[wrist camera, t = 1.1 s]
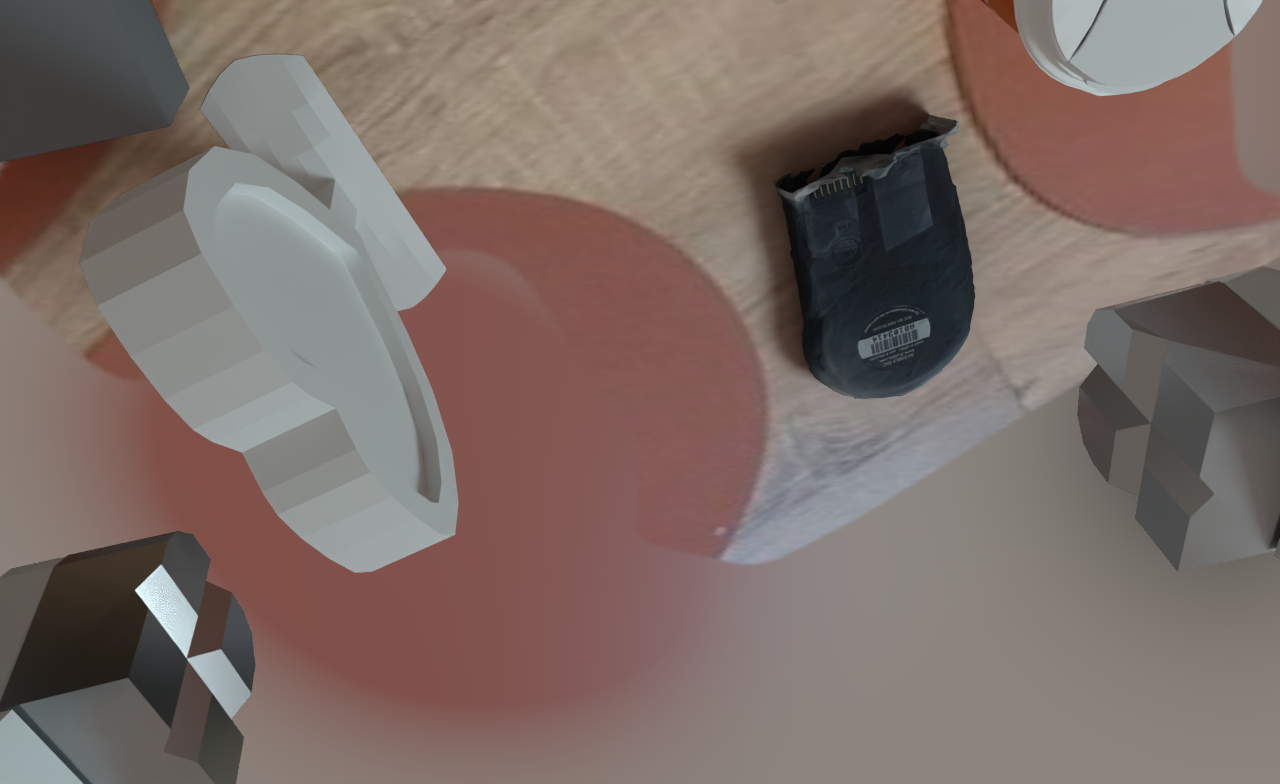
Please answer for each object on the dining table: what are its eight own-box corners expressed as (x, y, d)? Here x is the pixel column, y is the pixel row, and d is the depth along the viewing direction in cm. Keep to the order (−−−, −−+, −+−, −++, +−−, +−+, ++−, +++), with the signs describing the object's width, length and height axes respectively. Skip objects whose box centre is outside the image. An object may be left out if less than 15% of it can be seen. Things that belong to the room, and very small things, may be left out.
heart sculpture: (467, 300, 50) (479, 567, 36) (378, 342, 51) (356, 621, 37) (273, 11, 41) (186, 218, 27) (167, 67, 42) (28, 299, 27)
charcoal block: (-123, -77, 37) (-175, -49, 34) (96, -122, 37) (65, -98, 34) (-4, 129, 42) (-40, 170, 39) (189, 88, 42) (169, 126, 39)
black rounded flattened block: (740, 167, 50) (814, 410, 58) (781, 197, 45) (855, 458, 53) (911, 94, 51) (962, 344, 58) (969, 116, 46) (1017, 386, 53)
